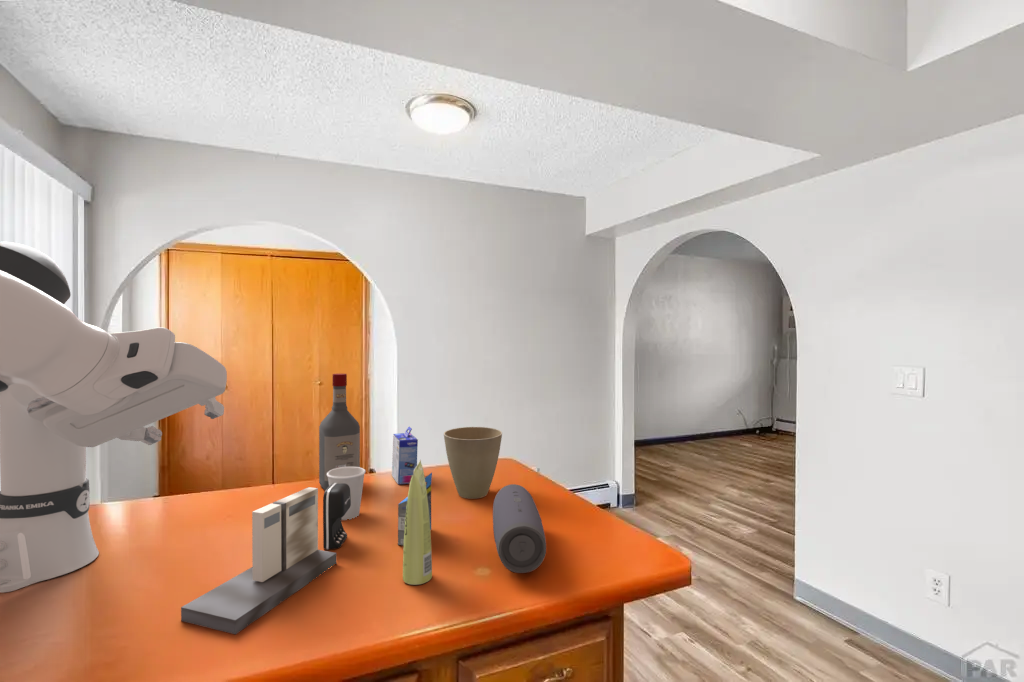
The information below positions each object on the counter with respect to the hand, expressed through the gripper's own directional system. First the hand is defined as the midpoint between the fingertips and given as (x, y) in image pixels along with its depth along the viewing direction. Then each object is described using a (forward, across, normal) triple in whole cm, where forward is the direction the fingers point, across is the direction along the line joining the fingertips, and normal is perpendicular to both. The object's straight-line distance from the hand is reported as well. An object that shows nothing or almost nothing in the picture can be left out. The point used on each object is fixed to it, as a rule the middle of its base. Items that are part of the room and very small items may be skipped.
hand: (188, 425), depth 69 cm
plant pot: (+72, +19, +7) cm, 75 cm away
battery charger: (+43, -3, -5) cm, 43 cm away
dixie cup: (+53, -6, +5) cm, 54 cm away
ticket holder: (+28, -7, -14) cm, 32 cm away
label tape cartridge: (+49, +11, -7) cm, 51 cm away
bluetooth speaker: (+50, +30, -17) cm, 61 cm away
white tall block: (+26, -6, -13) cm, 30 cm away
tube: (+37, +14, -19) cm, 44 cm away
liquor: (+67, -14, +21) cm, 71 cm away
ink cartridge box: (+76, 0, +20) cm, 79 cm away
